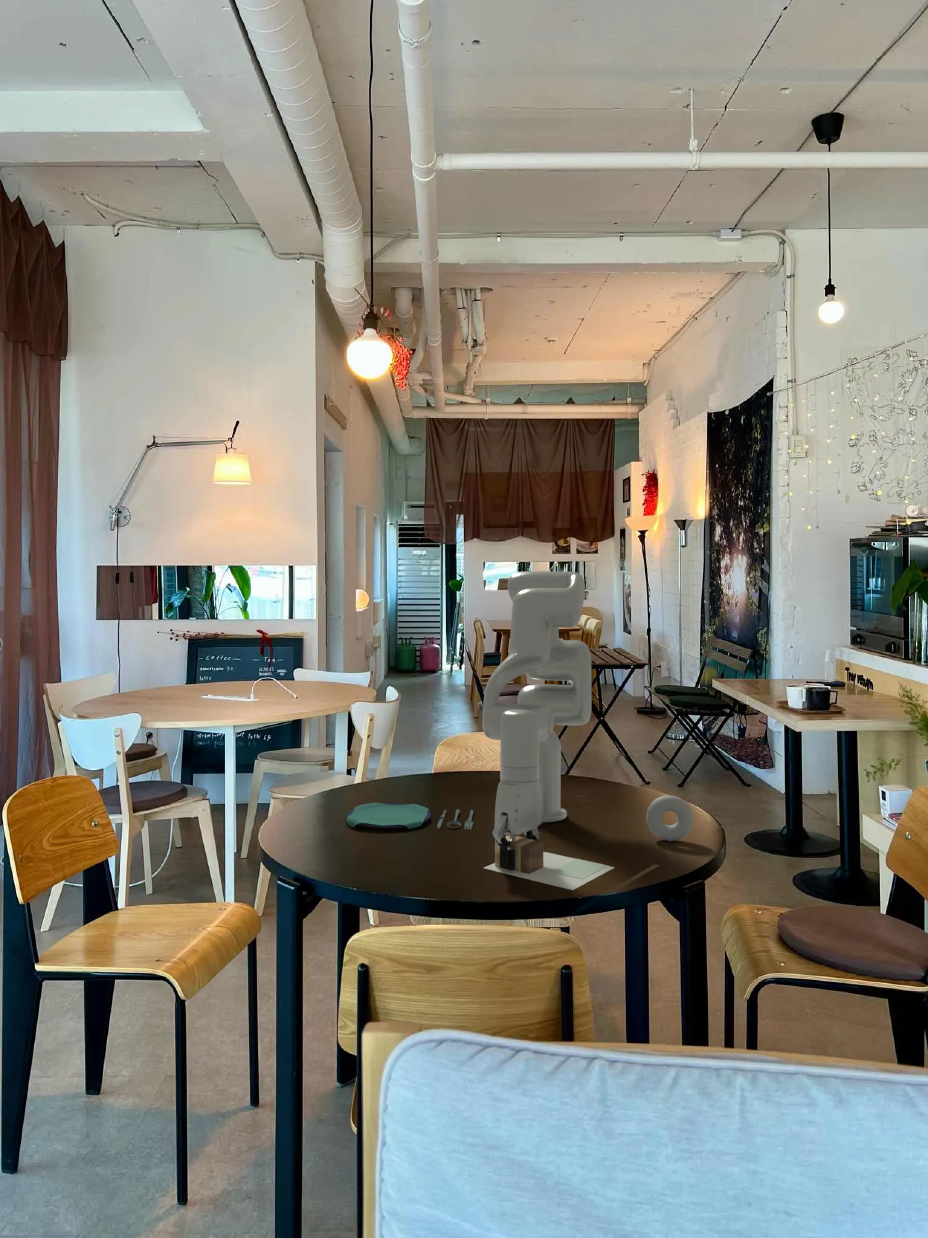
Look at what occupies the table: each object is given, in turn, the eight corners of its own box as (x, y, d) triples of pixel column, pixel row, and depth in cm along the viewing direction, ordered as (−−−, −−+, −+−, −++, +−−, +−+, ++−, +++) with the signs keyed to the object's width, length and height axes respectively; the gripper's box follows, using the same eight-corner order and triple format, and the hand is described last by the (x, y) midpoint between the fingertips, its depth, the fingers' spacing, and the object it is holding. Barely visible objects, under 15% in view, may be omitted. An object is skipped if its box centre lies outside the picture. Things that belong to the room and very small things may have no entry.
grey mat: (483, 871, 171) (483, 867, 171) (528, 851, 184) (528, 848, 184) (572, 893, 159) (572, 889, 159) (614, 870, 172) (614, 867, 172)
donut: (645, 842, 191) (646, 796, 190) (645, 837, 194) (645, 792, 194) (693, 844, 189) (694, 798, 188) (692, 840, 192) (692, 794, 192)
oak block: (494, 865, 172) (495, 840, 172) (509, 859, 176) (509, 834, 176) (529, 874, 168) (529, 848, 167) (543, 867, 171) (543, 842, 171)
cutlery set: (355, 809, 218) (355, 800, 218) (476, 814, 216) (476, 805, 216) (337, 832, 198) (337, 822, 198) (470, 838, 196) (470, 828, 196)
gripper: (528, 764, 180) (527, 849, 181) (477, 778, 167) (477, 871, 167) (559, 768, 176) (558, 856, 177) (510, 784, 162) (509, 879, 163)
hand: (519, 863), depth 172 cm, fingers open, 7 cm apart
